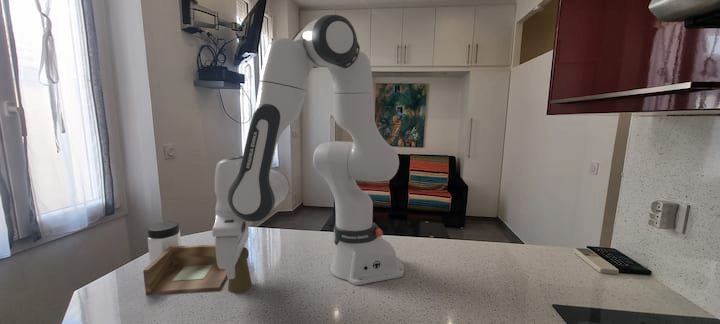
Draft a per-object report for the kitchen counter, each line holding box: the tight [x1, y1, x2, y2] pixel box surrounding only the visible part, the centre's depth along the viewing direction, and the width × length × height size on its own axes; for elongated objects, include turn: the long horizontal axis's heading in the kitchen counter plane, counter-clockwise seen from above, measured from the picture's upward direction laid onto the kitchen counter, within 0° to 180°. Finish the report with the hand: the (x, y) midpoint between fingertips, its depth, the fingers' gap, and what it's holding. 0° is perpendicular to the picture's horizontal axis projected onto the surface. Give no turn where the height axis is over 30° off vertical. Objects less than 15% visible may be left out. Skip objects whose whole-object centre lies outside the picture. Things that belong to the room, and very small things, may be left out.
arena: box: [142, 244, 227, 296], centre depth 85 cm, size 18×14×7 cm
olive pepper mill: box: [227, 246, 253, 294], centre depth 81 cm, size 6×6×11 cm
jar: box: [147, 220, 182, 265], centre depth 94 cm, size 9×8×12 cm
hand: (235, 268), depth 79 cm, fingers open, 8 cm apart
